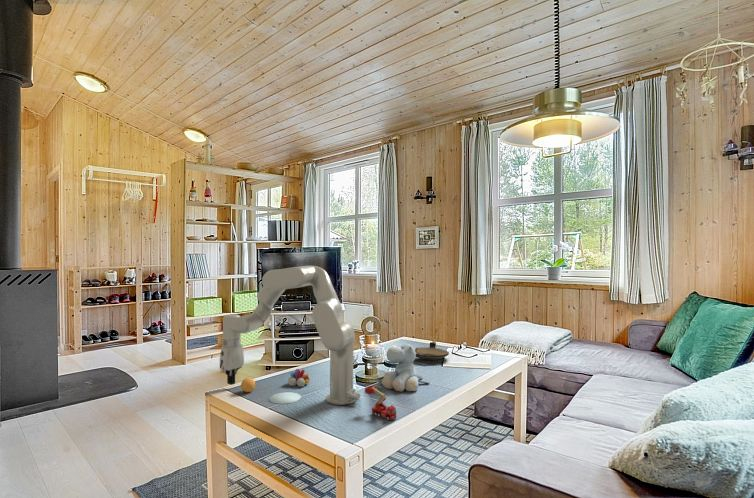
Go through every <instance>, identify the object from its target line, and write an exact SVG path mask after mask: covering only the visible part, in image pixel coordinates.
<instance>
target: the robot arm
mask: <svg viewBox="0 0 754 498" xmlns="http://www.w3.org/2000/svg"><path fill="white" fill-rule="evenodd" d="M261 279H262V281H261V283H262V286H261V288H260V290H259V291H258V292H257V295H256V297H257V301H258V304H257V306H256V307H255V309H254V310H253V311H252V312H251V313H249V314H245V315H240V314H236V313H234V314H233V313H230V314H225V315H223V317H222V341H221V342H220V345H221V348H220V354H219V369H220V373H221V374H225V375H226V377H227V379H226V380H227V384H228V385H231V386H232V385H235V384H236V375H237V374H238V371H239V370H240V369H242V368H243V366H244V365H245V358H244V356H245V355H244V354H245V353H244V348H243V344H242V343H241V340H242V339H241V334H248V333H250V332H253V331H255V330H259V329H260V328H261V327H262V326H263V325H264V324H265V322H266V321H267V320H268V318H269V317H270V315H271V314H272V311H273V309H274V305H275V304H276V303H277V301H278V300H279V298H280V297H281V296H282V294H283V293H284V292H285V291H286V290H289V289H297V288H304V287H307V286H312V291H313V295H314V298H315V299H316V302H317V303H316V304H314V307H313V308H312V321H313V323H314V326H315V328H316V330H317V333H318V336H319V338H320V341H321V343H322V344H323V346H324V348H326V350H328V351H330V354H329V355H330V356H329V394H328V395H327V396H326V397H325V400H326V402H327V403H329V404H332V405H336V406H344V405H349V404H353V403H355V402H356V401H359V400H360V397H361V394H360V393H359V392H356V388H354V350H355V349H354V348H355V347H354V346H355V338H356V337H355V336H356V335H355V329H354V328H353V326H352V325H351V324H350V323H348V322H339V319H340V318H341V317H342V315H343V312H344V311H343V308H342V307H343V306H342V304H341V302H340V300H339V297H338V294H337V292H336V290H335V289H334V285H333V283H332V280H331V278H330V275H329V274H328V272H327V271H326V270H325V269H323V268H322V267H320V266H316V265H302V266H294V267H293V266H291V267H286V268H281V269H280V268H278V269H277V268H276V269H270V270H268V271H267V272H265V273H264V275H263V276H262V278H261Z"/></svg>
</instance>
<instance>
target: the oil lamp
mask: <svg viewBox="0 0 754 498" xmlns="http://www.w3.org/2000/svg"><path fill="white" fill-rule="evenodd" d="M436 346H437V341H436V339H433V340H432V341H431V342H429V347H416V348H414V349H415V352H416V357H415V358H418V359H420V360H423V359H424V361H437V360H441V359H443V358H445V357H447V356H449V355H450V352H449V351H447V350H446V349H442V348H437V347H436Z"/></svg>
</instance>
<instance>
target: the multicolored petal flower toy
mask: <svg viewBox="0 0 754 498" xmlns="http://www.w3.org/2000/svg"><path fill="white" fill-rule="evenodd" d="M305 371H306V370H305V369H302V370H300V369H299V368H296V369H295V370H294V371H291V372H290V373H289V375H290V377H288V381H287V382H288V383H287V384H288V385H289V386H290V387H295V386H297V387H299V388H303V387H305V385H308V384H309V382H310V380H311V379H310V376H309V373H307V374H305Z"/></svg>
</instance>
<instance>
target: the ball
mask: <svg viewBox="0 0 754 498" xmlns="http://www.w3.org/2000/svg"><path fill="white" fill-rule="evenodd" d="M240 388H241V390H242V392H244V393H251V392H253V390H254V389H256V381H255V380H254V379H253V378H251V377H246V378H244V379H243V380H242V381H241V383H240Z"/></svg>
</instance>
